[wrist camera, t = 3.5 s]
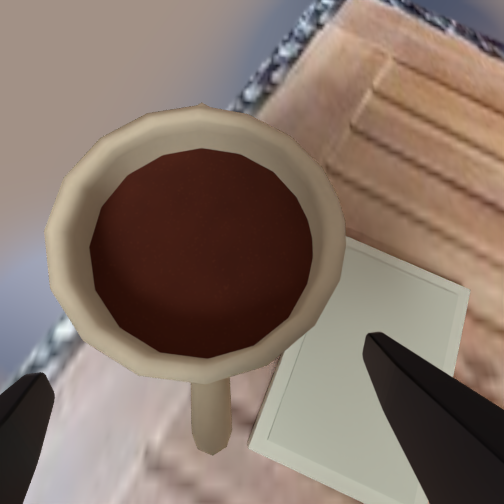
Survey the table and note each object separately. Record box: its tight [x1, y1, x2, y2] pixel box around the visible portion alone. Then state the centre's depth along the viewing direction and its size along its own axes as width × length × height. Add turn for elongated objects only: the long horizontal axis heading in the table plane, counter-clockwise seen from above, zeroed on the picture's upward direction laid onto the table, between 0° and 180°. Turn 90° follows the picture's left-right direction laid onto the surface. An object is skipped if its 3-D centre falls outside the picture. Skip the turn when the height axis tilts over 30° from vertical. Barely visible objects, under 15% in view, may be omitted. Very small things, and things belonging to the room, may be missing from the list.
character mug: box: [44, 103, 346, 456], centre depth 13 cm, size 11×7×13 cm, turn 4°
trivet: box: [247, 236, 470, 504], centre depth 19 cm, size 10×14×1 cm
